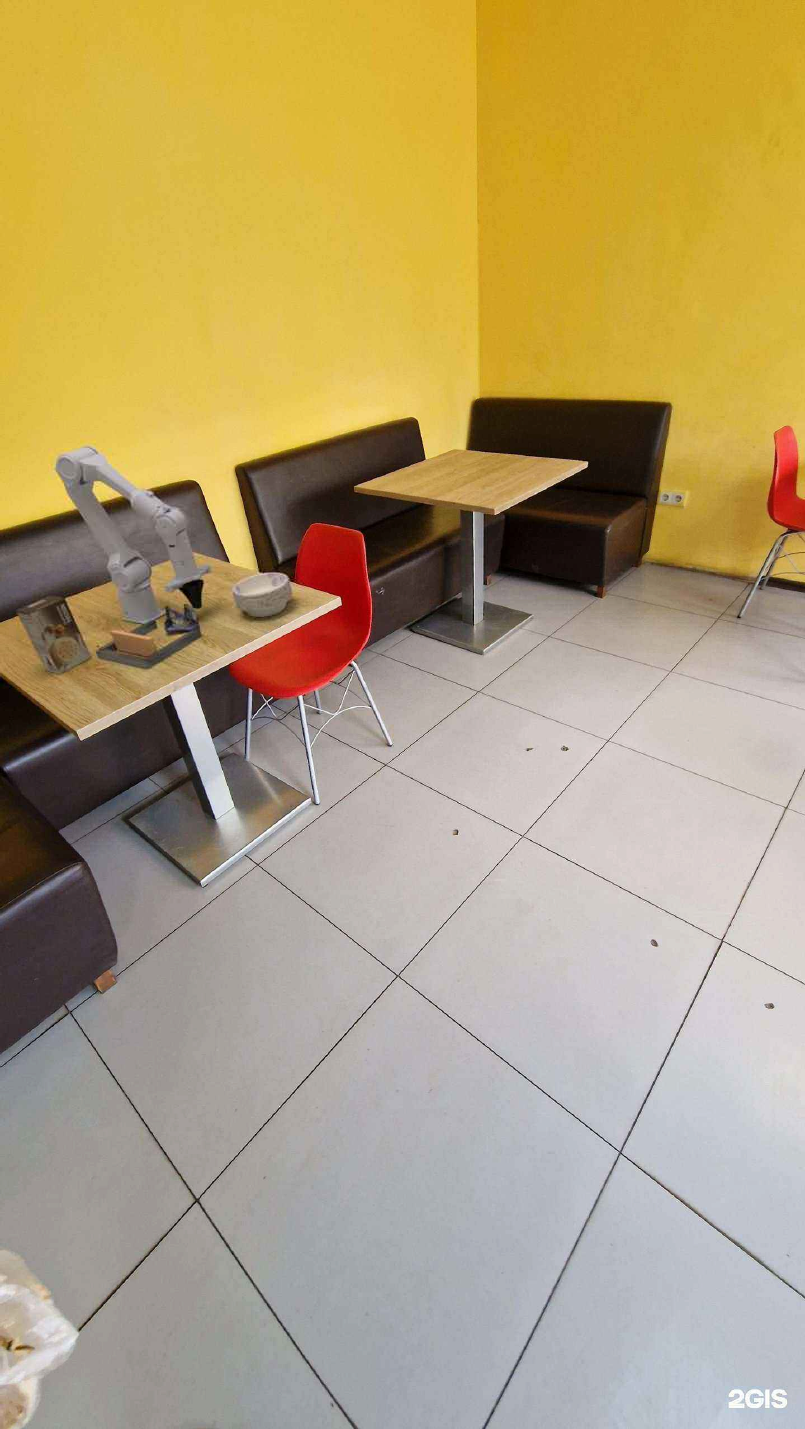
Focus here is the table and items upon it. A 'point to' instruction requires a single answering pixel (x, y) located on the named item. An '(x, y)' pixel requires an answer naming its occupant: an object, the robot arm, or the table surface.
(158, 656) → the rail track
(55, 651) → the coffee box
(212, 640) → the table surface
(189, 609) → the snack package
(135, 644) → the plate
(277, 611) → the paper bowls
